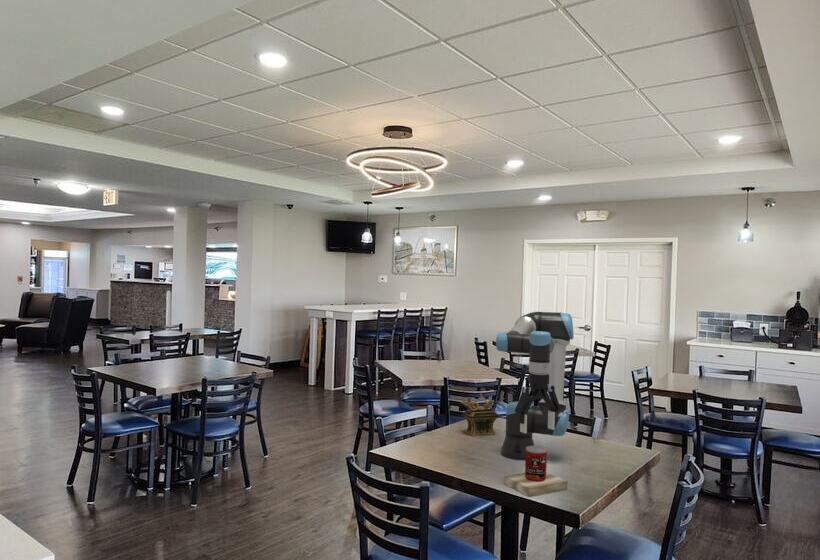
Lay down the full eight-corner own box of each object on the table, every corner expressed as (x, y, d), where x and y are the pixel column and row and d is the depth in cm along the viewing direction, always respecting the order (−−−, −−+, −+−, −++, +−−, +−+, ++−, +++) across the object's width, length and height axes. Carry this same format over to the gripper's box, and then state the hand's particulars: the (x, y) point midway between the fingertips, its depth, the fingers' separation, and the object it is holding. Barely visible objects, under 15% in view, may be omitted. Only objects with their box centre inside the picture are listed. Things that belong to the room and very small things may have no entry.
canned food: (523, 480, 204) (524, 450, 204) (525, 473, 211) (526, 444, 211) (545, 483, 201) (546, 452, 202) (546, 476, 209) (547, 446, 209)
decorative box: (489, 430, 289) (491, 392, 289) (499, 435, 280) (500, 395, 280) (455, 432, 281) (456, 393, 282) (463, 437, 272) (465, 397, 273)
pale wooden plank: (504, 484, 208) (504, 476, 208) (540, 477, 217) (540, 469, 217) (529, 496, 195) (530, 488, 196) (567, 489, 204) (567, 481, 204)
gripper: (519, 376, 197) (518, 436, 197) (571, 373, 210) (569, 429, 209) (506, 373, 204) (504, 431, 204) (556, 370, 216) (554, 425, 216)
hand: (537, 430), depth 207 cm, fingers open, 13 cm apart
